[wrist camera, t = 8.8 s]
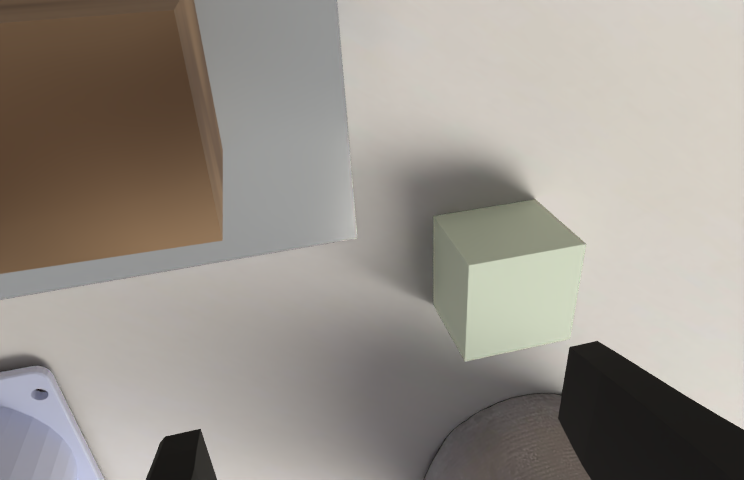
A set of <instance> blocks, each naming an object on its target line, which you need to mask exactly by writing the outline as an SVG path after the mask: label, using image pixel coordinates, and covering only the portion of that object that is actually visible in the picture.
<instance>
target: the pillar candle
mask: <svg viewBox="0 0 744 480" xmlns="http://www.w3.org/2000/svg"><path fill="white" fill-rule="evenodd" d="M560 403H561V395H558V394H544V393H543V394H531V395H525V396H521V397H515V398H511V399H508V400H505V401H503V402H500V403H497V404H495V405H493V406H491V407H489V408H487V409H484V410H481V411H480V412H478V413H476V414H474V415H473V416H471V417H470V418H469V419H468V420H467V421H465V422H463V423H461V424H460V425H459V426H457V427H456V428H455V429H454V430H453V431H452V432H451V433H450V434H449V435H448V437H447V438H446V439H445V441H444V443H443V444H442V446H441V448H440V450H439V451H438V453H437V455H436V456H435V458H434V460H433V462H432V463H431V466H430V468H429V470H428V472H427V474H426V476H425V480H591V478H590V477H589V475H588V474H587V472H586V471H585V469H584V468H583V466H582V464H581V462H580V461H579V459H578V457H577V455H576V453H575V451H574V449H573V447H572V446H571V444H570V442H569V440H568V438H567V436H566V434H565V432H564V430H563V428H562V426H561V424H560V422H559V420H558V415H559V409H560Z"/></svg>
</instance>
